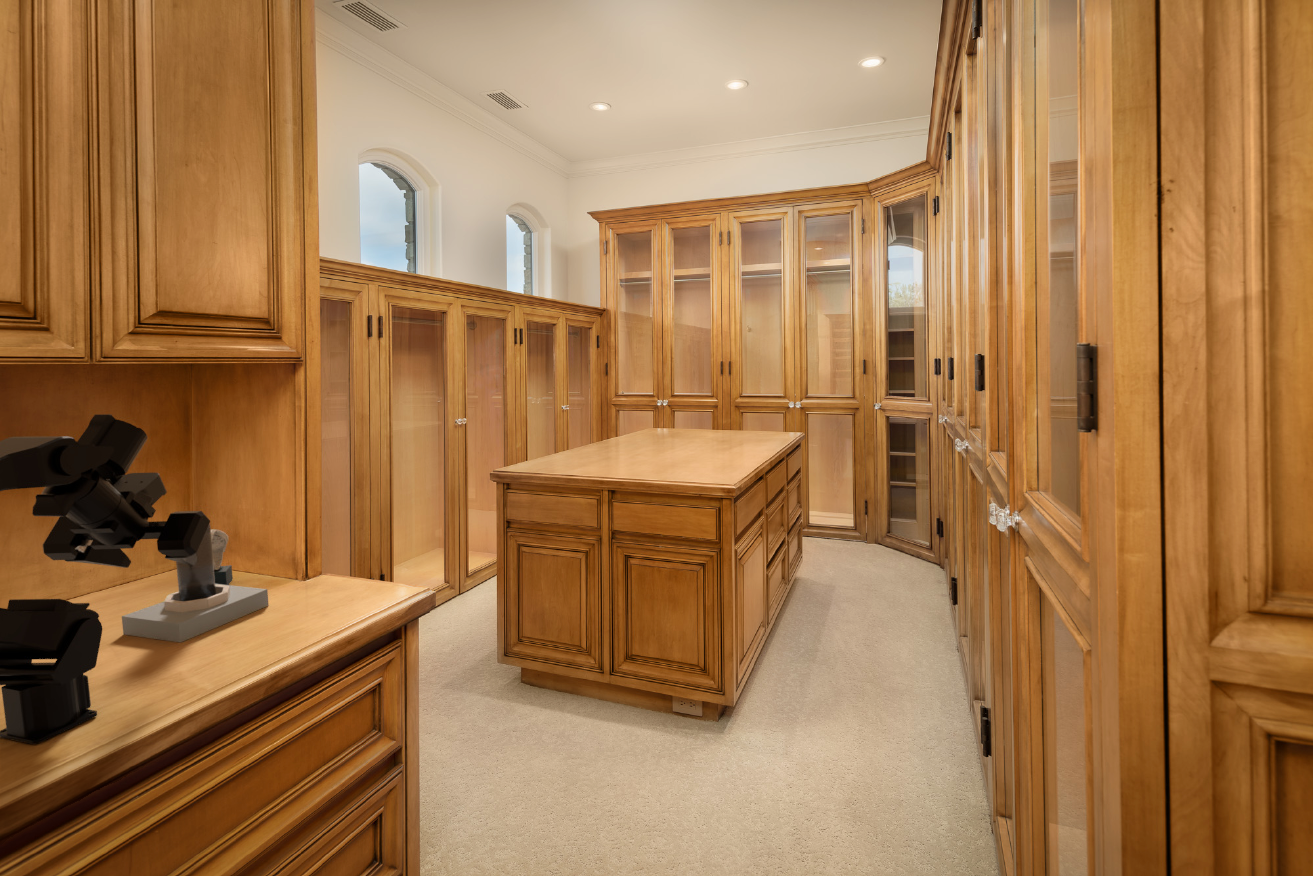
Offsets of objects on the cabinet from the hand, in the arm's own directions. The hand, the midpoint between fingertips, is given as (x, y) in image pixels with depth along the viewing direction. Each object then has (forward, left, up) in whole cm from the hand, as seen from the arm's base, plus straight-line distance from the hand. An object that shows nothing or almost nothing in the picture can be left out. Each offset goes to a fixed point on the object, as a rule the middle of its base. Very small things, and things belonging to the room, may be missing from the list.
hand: (161, 563), depth 94 cm
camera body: (+11, +7, -13) cm, 19 cm away
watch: (+25, +21, -14) cm, 35 cm away
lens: (+11, +7, -10) cm, 17 cm away
